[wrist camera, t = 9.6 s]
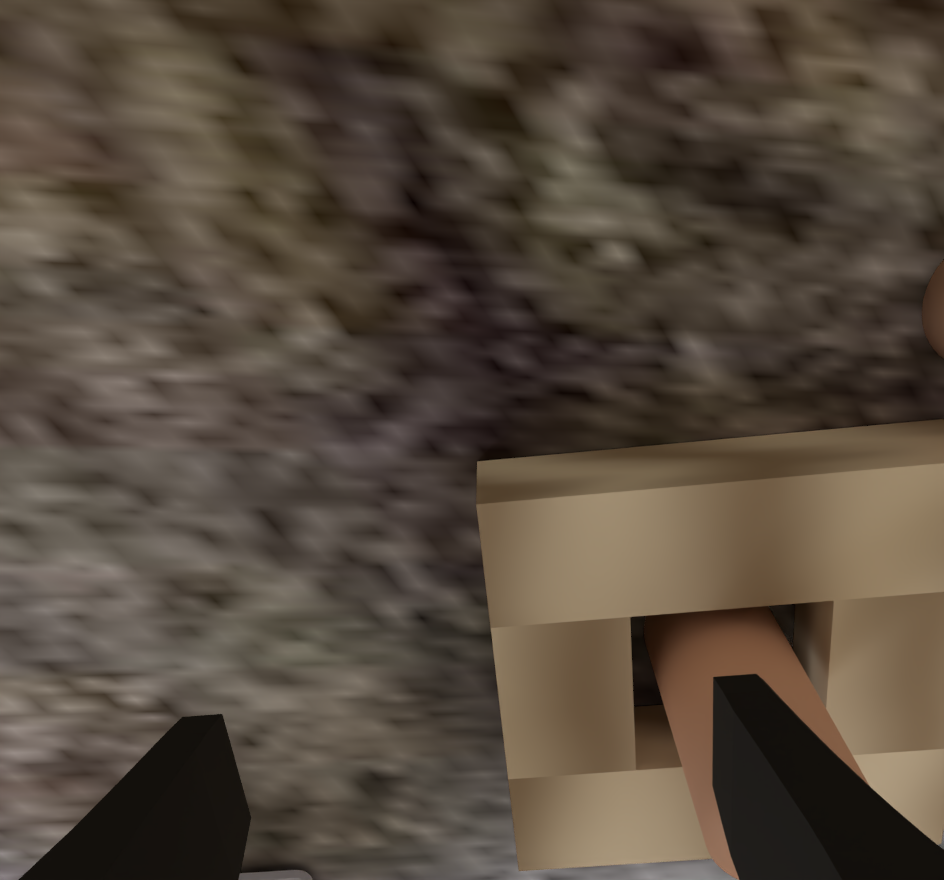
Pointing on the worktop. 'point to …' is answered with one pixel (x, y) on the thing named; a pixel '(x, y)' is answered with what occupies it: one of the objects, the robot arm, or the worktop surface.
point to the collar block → (703, 589)
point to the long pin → (691, 693)
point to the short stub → (935, 311)
